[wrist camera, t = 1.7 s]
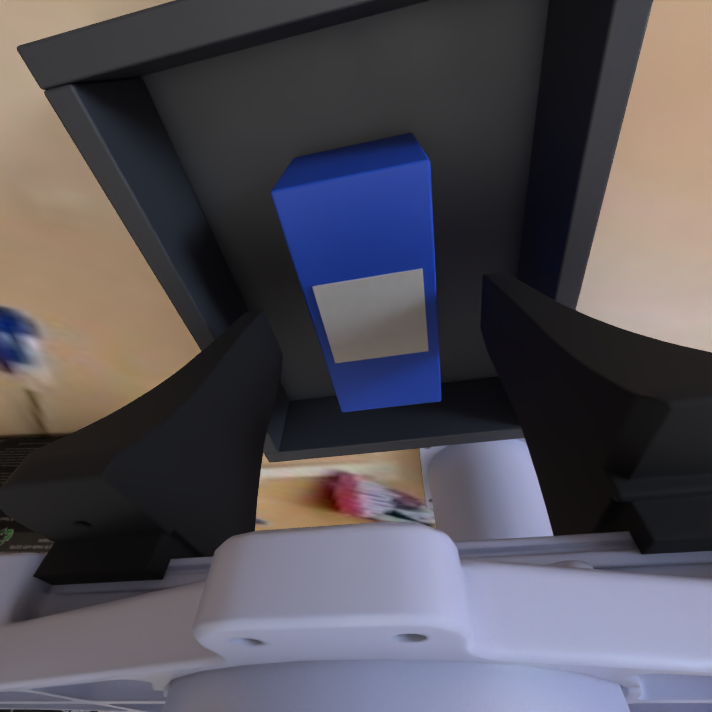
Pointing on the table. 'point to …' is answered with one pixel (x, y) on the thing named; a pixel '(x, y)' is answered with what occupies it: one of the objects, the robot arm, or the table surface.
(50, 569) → the robot arm
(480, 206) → the desk bin
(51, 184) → the table surface
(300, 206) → the blue box
